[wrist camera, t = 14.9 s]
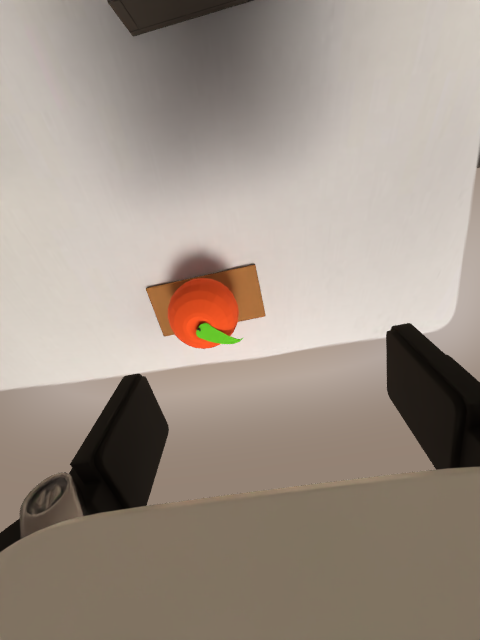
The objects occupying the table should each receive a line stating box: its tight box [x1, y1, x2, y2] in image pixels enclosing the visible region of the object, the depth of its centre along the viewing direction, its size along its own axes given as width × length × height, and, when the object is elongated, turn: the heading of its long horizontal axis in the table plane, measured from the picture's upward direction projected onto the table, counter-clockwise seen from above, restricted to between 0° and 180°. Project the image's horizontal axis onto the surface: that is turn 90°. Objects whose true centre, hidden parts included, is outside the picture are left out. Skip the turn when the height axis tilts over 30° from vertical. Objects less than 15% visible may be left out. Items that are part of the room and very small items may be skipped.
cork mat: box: [146, 264, 265, 336], centre depth 32 cm, size 12×6×1 cm, turn 102°
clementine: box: [168, 278, 243, 349], centre depth 29 cm, size 8×7×7 cm
